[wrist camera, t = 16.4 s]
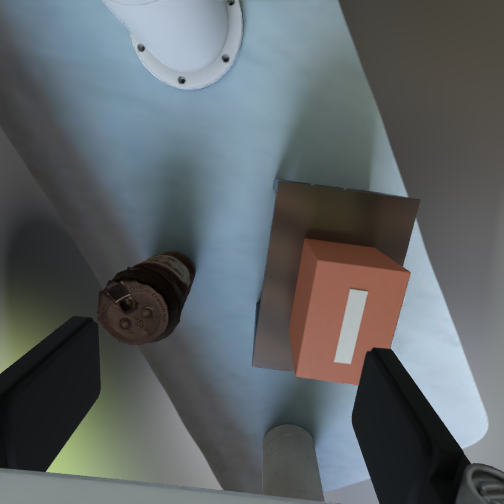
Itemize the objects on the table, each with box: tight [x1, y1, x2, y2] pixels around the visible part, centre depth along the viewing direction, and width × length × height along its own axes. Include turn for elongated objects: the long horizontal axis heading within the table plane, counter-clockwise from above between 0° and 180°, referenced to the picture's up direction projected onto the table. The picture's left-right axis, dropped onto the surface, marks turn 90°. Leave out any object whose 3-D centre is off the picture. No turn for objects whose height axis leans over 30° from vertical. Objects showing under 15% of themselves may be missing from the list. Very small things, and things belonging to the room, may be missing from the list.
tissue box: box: [289, 238, 410, 385], centre depth 25 cm, size 6×9×7 cm
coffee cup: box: [97, 252, 195, 345], centre depth 36 cm, size 9×8×13 cm
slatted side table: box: [252, 179, 420, 372], centre depth 35 cm, size 18×12×13 cm, turn 173°
